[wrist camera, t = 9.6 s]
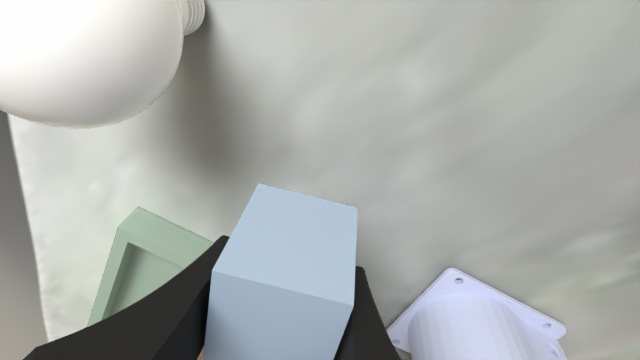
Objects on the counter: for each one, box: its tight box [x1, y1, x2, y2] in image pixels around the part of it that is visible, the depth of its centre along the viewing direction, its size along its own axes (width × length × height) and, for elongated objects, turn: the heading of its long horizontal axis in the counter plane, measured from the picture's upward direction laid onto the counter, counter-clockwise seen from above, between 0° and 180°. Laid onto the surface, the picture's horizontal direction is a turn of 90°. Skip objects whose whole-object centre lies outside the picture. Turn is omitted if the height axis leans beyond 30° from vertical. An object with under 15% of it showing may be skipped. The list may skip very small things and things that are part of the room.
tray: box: [87, 207, 214, 360], centre depth 27 cm, size 16×14×2 cm
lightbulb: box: [0, 0, 205, 129], centre depth 13 cm, size 6×6×11 cm
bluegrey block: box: [203, 183, 358, 360], centre depth 13 cm, size 4×4×5 cm
